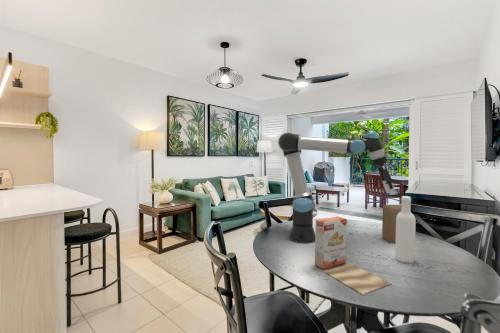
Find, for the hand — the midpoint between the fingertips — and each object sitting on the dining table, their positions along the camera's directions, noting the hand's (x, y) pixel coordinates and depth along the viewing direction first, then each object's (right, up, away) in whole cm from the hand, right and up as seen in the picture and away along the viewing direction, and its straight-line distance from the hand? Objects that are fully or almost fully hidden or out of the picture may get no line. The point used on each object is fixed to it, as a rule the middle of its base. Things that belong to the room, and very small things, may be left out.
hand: (390, 192), depth 141 cm
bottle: (-8, -29, -25) cm, 39 cm away
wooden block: (+3, -28, +1) cm, 28 cm away
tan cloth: (-38, -30, -42) cm, 65 cm away
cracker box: (-45, -30, -30) cm, 61 cm away
